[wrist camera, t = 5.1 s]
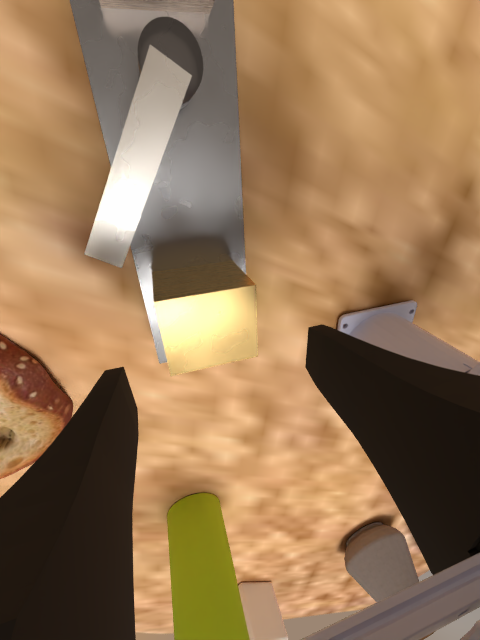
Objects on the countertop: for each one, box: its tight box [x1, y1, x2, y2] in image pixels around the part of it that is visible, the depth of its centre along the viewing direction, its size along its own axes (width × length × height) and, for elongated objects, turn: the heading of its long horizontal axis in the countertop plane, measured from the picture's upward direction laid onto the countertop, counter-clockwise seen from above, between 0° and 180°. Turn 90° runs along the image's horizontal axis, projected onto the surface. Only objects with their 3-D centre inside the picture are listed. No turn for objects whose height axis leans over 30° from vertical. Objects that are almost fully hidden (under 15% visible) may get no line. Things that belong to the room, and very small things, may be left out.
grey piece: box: [70, 0, 246, 363], centre depth 14 cm, size 18×6×5 cm, turn 3°
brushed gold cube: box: [152, 260, 258, 376], centre depth 15 cm, size 4×4×4 cm
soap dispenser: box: [167, 493, 250, 640], centre depth 23 cm, size 6×7×20 cm
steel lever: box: [84, 17, 203, 268], centre depth 11 cm, size 9×2×2 cm, turn 152°
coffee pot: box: [344, 522, 434, 640], centre depth 44 cm, size 21×12×15 cm, turn 129°
